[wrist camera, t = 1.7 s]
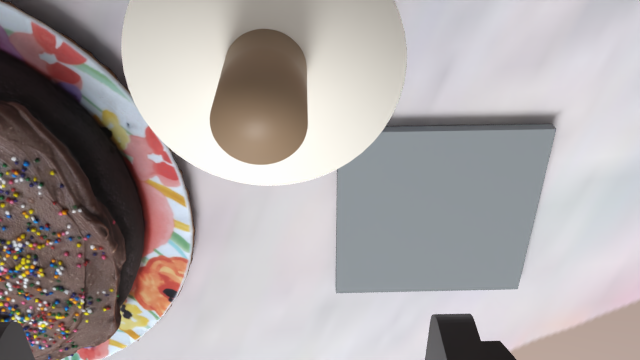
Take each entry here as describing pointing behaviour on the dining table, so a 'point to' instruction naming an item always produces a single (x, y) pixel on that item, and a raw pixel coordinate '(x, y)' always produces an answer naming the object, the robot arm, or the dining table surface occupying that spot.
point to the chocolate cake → (82, 200)
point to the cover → (265, 81)
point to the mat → (440, 208)
